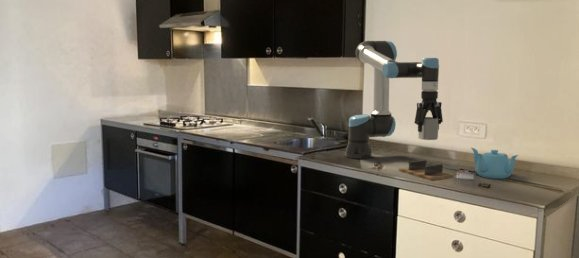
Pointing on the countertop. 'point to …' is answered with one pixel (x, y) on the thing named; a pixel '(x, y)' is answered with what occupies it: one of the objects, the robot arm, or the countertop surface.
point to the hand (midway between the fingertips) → (428, 137)
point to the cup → (430, 128)
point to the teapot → (493, 164)
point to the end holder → (426, 170)
